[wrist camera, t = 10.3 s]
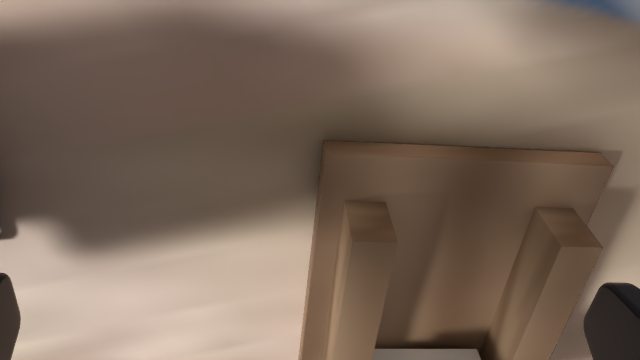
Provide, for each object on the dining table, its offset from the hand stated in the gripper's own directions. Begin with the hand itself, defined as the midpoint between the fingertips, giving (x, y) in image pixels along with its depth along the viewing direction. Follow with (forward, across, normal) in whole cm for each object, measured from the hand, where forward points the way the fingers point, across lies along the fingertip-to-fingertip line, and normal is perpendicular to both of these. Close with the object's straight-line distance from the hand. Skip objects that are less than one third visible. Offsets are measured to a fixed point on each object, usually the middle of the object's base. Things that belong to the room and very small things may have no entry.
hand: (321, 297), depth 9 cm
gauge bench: (+12, -7, +15) cm, 20 cm away
